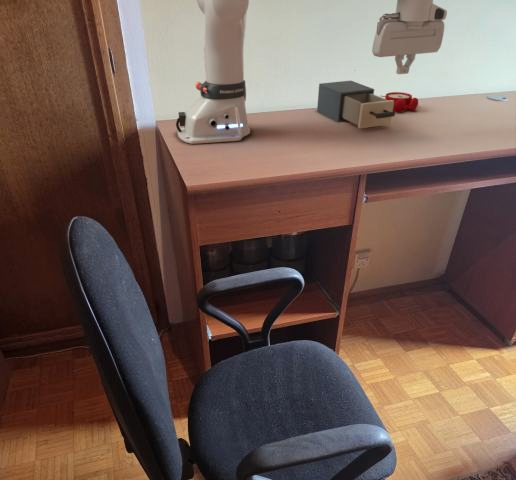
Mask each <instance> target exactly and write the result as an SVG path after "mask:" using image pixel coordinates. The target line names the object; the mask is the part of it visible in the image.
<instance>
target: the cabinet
mask: <svg viewBox="0 0 516 480" xmlns="http://www.w3.org/2000/svg"><path fill="white" fill-rule="evenodd" d="M317 93H318V94H317V107H316V108H317V109H316V111H317V112H318V113H320V114H322V115H324V116H326V117H328V118H330V119H331V120H333V121H335V122H338V123H339V122H346V121H348V120H346V119H344V118H342V117H340V116H341V107H342V98H343V95H349V94H358V93H371V94H373V95H375V88H372V87H369V86H366V85H364V84H361V83H358V82H357V81H353V80H342V81H331V82H321V83H319V84H318V92H317ZM348 122H349V121H348Z"/></svg>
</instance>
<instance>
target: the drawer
mask: <svg viewBox="0 0 516 480" xmlns="http://www.w3.org/2000/svg"><path fill="white" fill-rule="evenodd" d="M393 105H394V100H386V99H385V97H382V96H379V95H375V94H374V95H373V94H371V93H358V94H349V95H343V98H342V107H341V116H340V117H342V118H344V119H346V120H348V122H350V123H352V124H354V125H356V126H357V129H366V128H373V127H381V126H389V125H391V121H392V118H393V117H395V115H396V112H395V110H393Z"/></svg>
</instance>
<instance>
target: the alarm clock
mask: <svg viewBox="0 0 516 480" xmlns="http://www.w3.org/2000/svg"><path fill="white" fill-rule="evenodd" d="M381 98H384V99H386V100H394V105H393V111H394V112H395V113H398V114H399V113H403V112H405V111H410V112H414V111H416V109H418V106H419V99H418V98H417V97H413V94H410V93H408V92H399V91H392V92H388V93H385V95H381Z"/></svg>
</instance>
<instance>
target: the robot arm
mask: <svg viewBox="0 0 516 480" xmlns="http://www.w3.org/2000/svg"><path fill="white" fill-rule="evenodd" d="M196 2H197V5H198V7H199V9H200V11H201V12H202V14H203V15H204V19H205V21H204V23H205V27H204V28H205V29H204V46H203V52H204V53H203V55H204V56H203V57H204V69H205V81H203V83H201V82H200V81H196V83H195V84H194V87H195V89H196V90H198V91H199V92H200V96H199V98H197V100H195V102H194V103H193V104H192V105H191V106H189V108H187V110H185V111H179V112H178V117H177V119H176V122H175V127H176V129H177V137H178V138H179V139H180V140H181V141H182V142H185V143H187V144H191V145H194V144H195V145H196V144H210V143H223V142H238V141H239V142H240V141H241V140H242V139H243V138H244V137H246V136H248V135H249V134H250V133H251V129H250V124H249V120H248V116H247V108H246V107H247V106H246V101H247V86H246V80H245V69H244V68H245V66H244V64H245V63H244V45H245V36H246V29H247V28H246V26H247V15H248V14H247V13H248V9H249V3H250V0H196ZM447 15H448V11H447V9H445V8H442V7H441V6H439V5H437V4H435V3H434V0H397V1H396V7H395V12H393V13H384V14H383V15H382V16H380V17H379V19H378V20H377V23H376V29H375V34H374V38H373V42H372V47H371V52H372V55H373V56H374V57H377V58H387V57H394V61H395V64H396V71H395V73H396V74H397V75H405V74H409V72H410V68H411V66H412V64H413V62H414V61H415V59H416V55H421V54H422V55H423V54H433V53H438V52H439V50H440V49H441V47H442V43H443V39H444V32H445V22H444V20H446V19H447ZM405 58H406V61H404V60H405ZM403 61H404V63H403Z"/></svg>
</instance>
